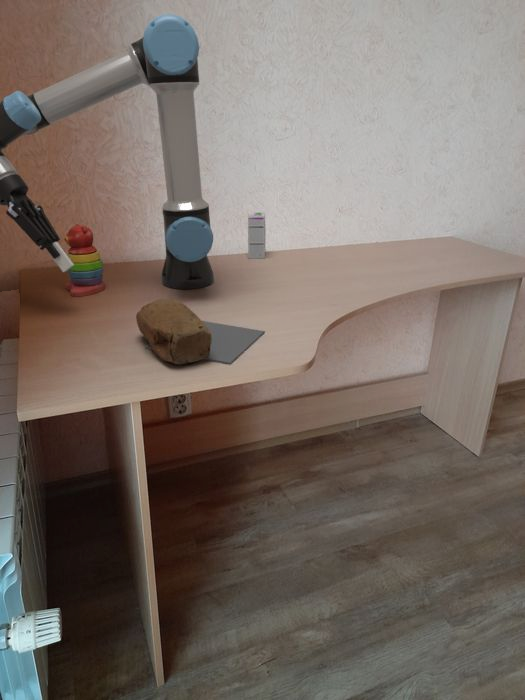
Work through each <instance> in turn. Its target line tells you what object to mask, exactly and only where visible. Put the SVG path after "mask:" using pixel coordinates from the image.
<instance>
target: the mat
mask: <svg viewBox="0 0 525 700" xmlns="http://www.w3.org/2000/svg"><path fill="white" fill-rule="evenodd" d="M201 321H202V322H203V323H204V324H205V325H206V327H207V328H208V329H209V331H210V332H211V337H212V342H211V346H210V355H209V357H207V358H205V359H203V360H204V361H205V360H206V361H210V362H214V363H221V364H225V365H232V364H233V363H234V362H235V361H236V360H237V359H238V358H239V357H241V355H242V354H244V353H245V352H246V351H247V350H248V349H249V348H250V347H251V346H252V345H254V343H256V342H257V341H258V340H259V339H260V338H261V337H262V336H263V335H265V333H266V331H265V330H260V329H254V328H253V329H252V328H248V327H241V326H236V325H230V324H224V323H217V322H213V321H212V322H211V321H207V320H201ZM259 337H260V338H259ZM258 338H259V339H258ZM144 349H149V350H153V351H154V349H153V348H152V347H151V345H150V343H149V342H148V344H147V345H145V346H144Z"/></svg>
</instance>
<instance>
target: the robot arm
mask: <svg viewBox="0 0 525 700" xmlns="http://www.w3.org/2000/svg"><path fill="white" fill-rule="evenodd" d="M199 53H200V44H199V39H198V36H197V34H196V31H195V30H194V28H193V27H192V25H191V24H190V23H189V22H188V20H186V19H185V18H183V17H181V16H180V15H177V14H171V13H167V14H166V13H165V14H162V15H159V16H156V17H155V18H153V19H152V20H151V21H150V22H149V23H148V25H147V26H146V28H145V30H144V33H143V36H142V37H141V38H140V39H138V40H136V41H134V42H132V43H130V44H129V46H128V48H127V51H124V52H122V53H120V54H117V55H115V56H113V57H111V58H109V59H107V60H105V61H102V62H100V63H98V64H96V65H93V66H92V67H89V68H88V69H87V68H86V69H84V70H83V71H82V70H81V71H80V72H78V73H76V74H74V75H72V76H70V77H67V78H65V79H62V80H61V81H59V82H56V83H54V84H52V85H50V86H47V87H45V88H43V89H41V90H38V91H36V92H35V93H32V94H30V95H26V94H25V93H24V92H23V91H21V90H16V91H14V92H13V93H11V94H9V95H7V96H5V97H3V99H2V100H1V101H0V206H7V207H8V209H7V210H5V214H6V215H7V216H8V217H9V218H10V219H12V221H14V222H15V223H16V224H17V226H19V227H20V229H21V230H22V231H23V232H24V233H25V234H26V235H27V236H28V237H29V238H30V239H31V241H33V242H34V244H35V245H36V246H38V247H39V249H40V250H41V251H44V250H46V252H48V255H50V257H51V258H52V260H53V261H54V262H55V263H56V265H57V266H58V268H59V269H60V270H61V271H62V273H65V272H68V269H70V268H71V267H72V266H74V264H73V262H72V261H71V260H70V258H69V257H68V253H66V252H65V251H64V249H63V248H62V246H61V245H60V244H59V241H60V240H61V239H60V237H59V235H58V233H57V231H56V230H55V228H54V227H53V225H52V224H51V222H50V219H49V218H48V217H47V215H46V213H45V210H44V208H43V207H42V206H41V205H38V206H36V205H35V203H34V202H33V201H32V200H31V199H30V198H29V196H27V194H28V192H29V187H28V184H27V183H26V182H25V181H24V179H23V178H22V177H21V175H20V174H18V171H17V170H16V168H15V167H14V165H13V164H12V162H10V160H9V159H8V158H7V157H6V155H5V154H4V153H3V150H4V149H6V148H7V147H8V146H10V145H11V144H13V143H14V142H16V140H17V139H19V138H21V137H22V136H30V135H33V134H35V133H37V132H39V131H40V130H42V129H44V128H46V127H49V126H51V125H53V124H55V123H57V122H60V121H62V120H64V119H66V118H68V117H70V116H72V115H75V114H78V113H80V112H81V111H84V110H86V109H88V108H90V107H92V106H93V107H94V106H95V105H97V104H99V103H101V102H104V101H105V100H106V101H107V100H108V99H110V98H113V97H115V96H117V95H120V94H121V93H123V92H125V91H128V90H130V89H133V88H134V87H137V86H138V85H141V84H143V85H146V86H148V87H149V88H150V89H151V90H152V91H153V92H155V96H156V103H157V113H158V114H157V115H158V122H159V133H160V141H161V142H160V143H161V149H162V161H163V168H164V177H165V188H166V198H167V200H166V202H164V203H163V205H162V216H163V229H164V241H165V244H164V245H165V259H164V263H163V268H162V272H161V275H160V276H161V284H162V285H164V286H165V287H166V288H170V289H171V288H172V289H176V290H177V289H178V290H193V289H200V288H205V287H208V286H210V285H212V284H213V283H214V281H215V279H214V278H215V277H214V271H213V269H212V266H211V263H210V260H209V257H208V254H209V252H210V251H211V250H212V246H213V243H214V233H213V230H212V228H211V219H210V218H211V217H210V207H209V206H210V205H209V203H208V202H207V201H206V200H205V199H204V198H203V193H202V180H201V179H202V178H201V170H200V169H201V168H200V166H201V165H200V158H199V157H200V156H199V143H198V132H197V131H198V129H197V120H196V119H197V117H196V107H195V106H196V105H195V96H194V92H195V90H196V89H197V88H198V87H199V85H200V75H199V63H198V62H199V60H198V57H199Z"/></svg>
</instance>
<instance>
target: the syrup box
mask: <svg viewBox="0 0 525 700" xmlns="http://www.w3.org/2000/svg"><path fill="white" fill-rule="evenodd" d="M247 238H248V239H247V241H248V242H247V244H248V247H247V248H248V249H247V251H248V259H253V260H254V259H255V260H256V259H257V260H260V259H261V260H262V259H265V258H266V213H265V212H248V215H247Z"/></svg>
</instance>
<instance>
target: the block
mask: <svg viewBox="0 0 525 700" xmlns="http://www.w3.org/2000/svg"><path fill="white" fill-rule="evenodd" d="M135 316H136V317H135V318H136V323H137V327H138V330H139V331H140V333H141V334H142V336H143V337H144V338H145V339H146V340H147V341H148V344H149V343H150V345H151V347H152V348H153V349H154V350H153V349H152V350H153V351H154V352H155V354H157V355H158V357H159V358H160V359H161V360H163V361H165V362H169V363H171V364H176V365H184V364H188V363H193V362H198V361H201V360H204V359H205V358H207V357H209V355H210V346H211V342H212V337H211V332H210V331H209V329H208V328H207V327H206V325H205V324H204V323H203V322H202V321H203V320H202V319H201V318H199V316H198V315H197V314H196V313H195V312H194V311H193V310H191V308H190V307H188V306H187V305H186V304H185V303H183V302H182V301H179V300H175V299H173V298H163V299H157V300H154V301H152V302H151V303H148V304H146V305H143V306H142V307H141V308H140V310H138V311H137V313H136V315H135Z"/></svg>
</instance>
